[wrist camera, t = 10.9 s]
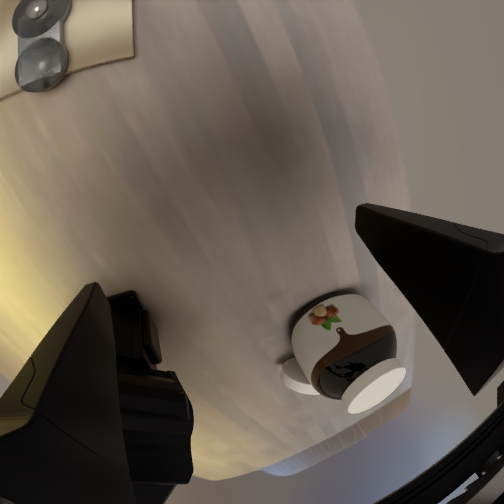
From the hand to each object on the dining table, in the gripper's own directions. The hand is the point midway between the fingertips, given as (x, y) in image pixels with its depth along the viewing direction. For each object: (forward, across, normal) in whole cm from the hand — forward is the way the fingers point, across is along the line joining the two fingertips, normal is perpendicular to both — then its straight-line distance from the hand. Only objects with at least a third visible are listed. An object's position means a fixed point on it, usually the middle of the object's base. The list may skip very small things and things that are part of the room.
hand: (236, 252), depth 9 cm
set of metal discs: (+13, +7, -22) cm, 26 cm away
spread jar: (+13, -10, +23) cm, 28 cm away
